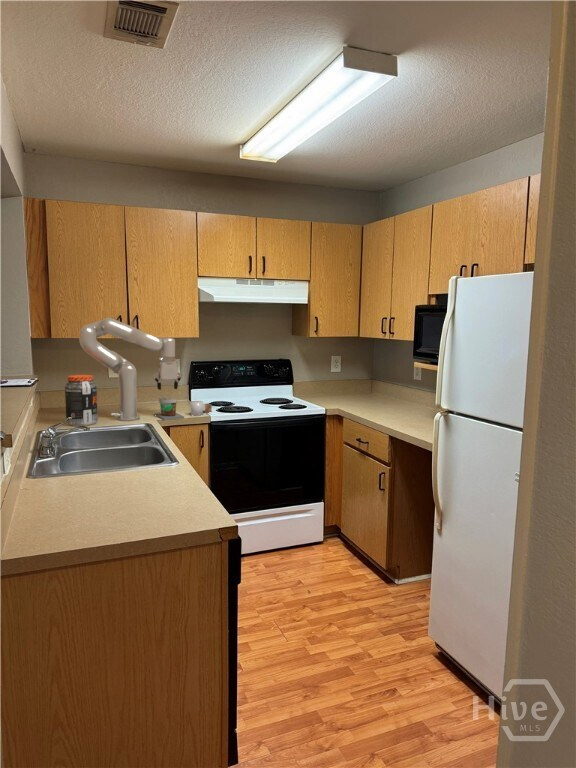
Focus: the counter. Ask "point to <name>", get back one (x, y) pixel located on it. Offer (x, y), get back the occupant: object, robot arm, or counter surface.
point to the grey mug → (197, 408)
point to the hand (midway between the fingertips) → (167, 389)
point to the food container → (168, 406)
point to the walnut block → (208, 408)
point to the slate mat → (169, 416)
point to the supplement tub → (81, 400)
